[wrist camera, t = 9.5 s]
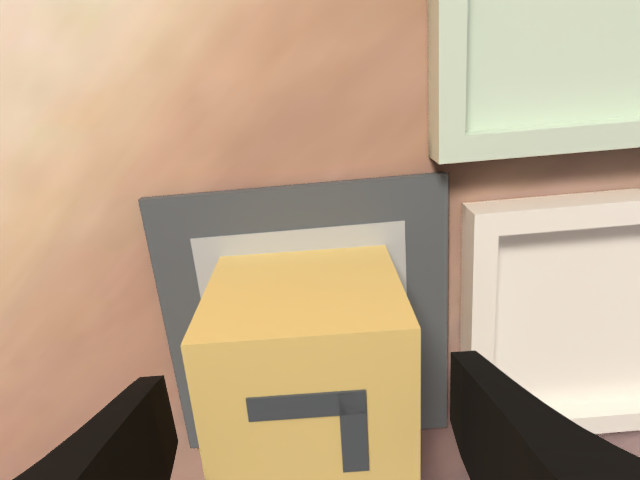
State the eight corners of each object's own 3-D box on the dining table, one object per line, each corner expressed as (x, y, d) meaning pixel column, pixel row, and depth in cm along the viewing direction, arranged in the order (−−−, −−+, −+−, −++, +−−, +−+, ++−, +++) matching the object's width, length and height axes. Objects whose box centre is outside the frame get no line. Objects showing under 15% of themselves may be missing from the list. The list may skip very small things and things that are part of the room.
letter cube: (385, 245, 15) (421, 330, 10) (388, 384, 17) (420, 513, 12) (220, 256, 15) (179, 347, 10) (239, 395, 17) (212, 527, 12)
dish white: (727, 180, 15) (762, 190, 14) (684, 401, 18) (709, 424, 17) (462, 203, 15) (474, 214, 14) (458, 420, 18) (468, 444, 17)
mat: (445, 172, 15) (448, 174, 14) (444, 421, 18) (447, 427, 17) (141, 197, 15) (138, 200, 14) (192, 442, 18) (189, 449, 17)
